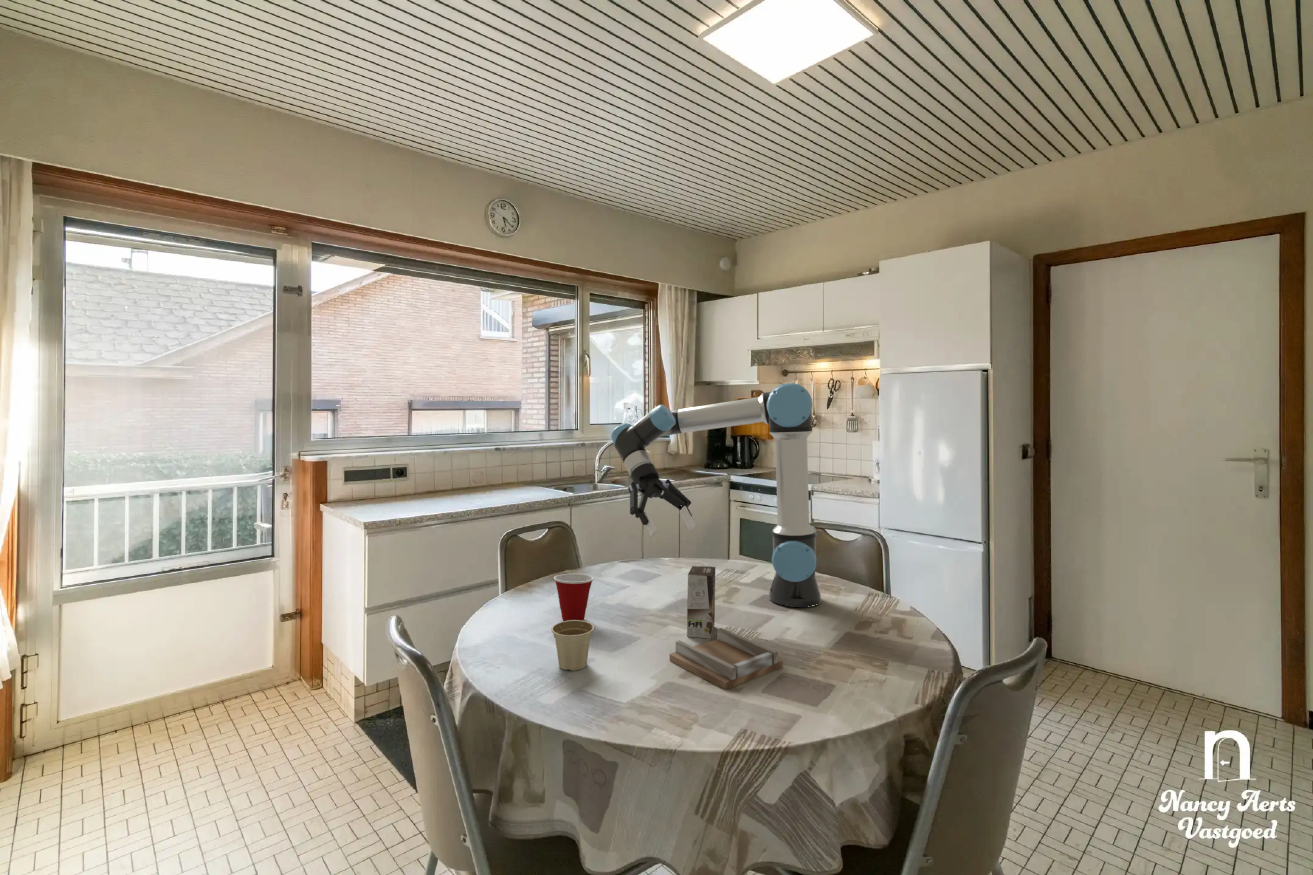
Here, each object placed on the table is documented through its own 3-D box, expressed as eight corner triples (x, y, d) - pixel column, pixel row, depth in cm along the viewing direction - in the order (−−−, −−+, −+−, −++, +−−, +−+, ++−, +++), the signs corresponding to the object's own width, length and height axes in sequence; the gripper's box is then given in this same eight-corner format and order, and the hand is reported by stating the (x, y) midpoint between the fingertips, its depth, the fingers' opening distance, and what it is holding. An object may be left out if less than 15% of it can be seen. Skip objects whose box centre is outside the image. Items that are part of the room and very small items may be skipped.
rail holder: (725, 642, 151) (726, 626, 150) (782, 667, 136) (783, 649, 136) (669, 660, 139) (669, 643, 139) (725, 689, 125) (725, 670, 125)
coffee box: (711, 639, 153) (712, 575, 152) (686, 636, 154) (687, 573, 153) (715, 626, 161) (716, 566, 161) (691, 624, 163) (692, 564, 162)
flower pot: (575, 678, 130) (575, 638, 129) (542, 667, 135) (542, 629, 134) (602, 662, 138) (602, 625, 137) (570, 653, 143) (570, 617, 142)
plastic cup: (600, 615, 169) (600, 572, 168) (583, 629, 158) (583, 583, 158) (565, 611, 172) (565, 569, 171) (546, 623, 162) (546, 579, 161)
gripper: (669, 475, 186) (701, 533, 175) (600, 480, 170) (630, 544, 159) (680, 459, 181) (714, 518, 170) (611, 463, 166) (643, 527, 155)
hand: (674, 530), depth 165 cm, fingers open, 13 cm apart
